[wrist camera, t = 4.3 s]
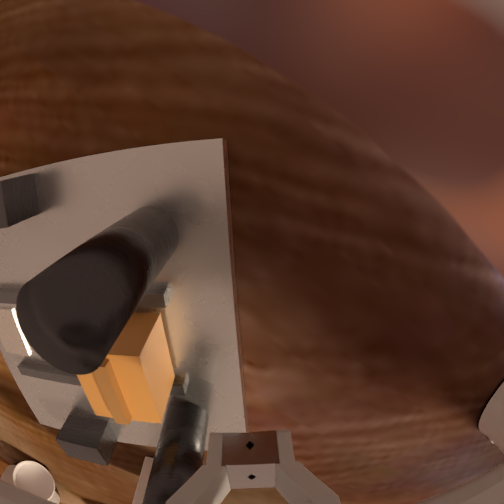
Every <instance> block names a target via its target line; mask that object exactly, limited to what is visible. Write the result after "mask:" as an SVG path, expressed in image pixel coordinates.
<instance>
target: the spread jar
mask: <svg viewBox="0 0 504 504" xmlns="http://www.w3.org/2000/svg"><path fill="white" fill-rule="evenodd" d="M0 479H1V480H3V481H5V482H7V483H9V484H11V485H13V486H15V487H17V488H19V489H22V490H24V491H26V492H29V493H31V494H33V495H36V496H38V497H41V498H43V499H46V500H48V501H51V502H54V503H57V504H59V502H60V496H59V492H58V490H57V488H56V486H55V482H54V479H53V477H52V475H51V474H50V472H49V471H48V470H47V469H46V468H45V467H44V466H42V465H41V464H39V463H37V462H34V461H27V460H26V461H22V462H20V463H13V464H11V465H9V466H8V467H7V468H6V470H5V471H4V473H3V474H2V476H1V478H0Z"/></svg>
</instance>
